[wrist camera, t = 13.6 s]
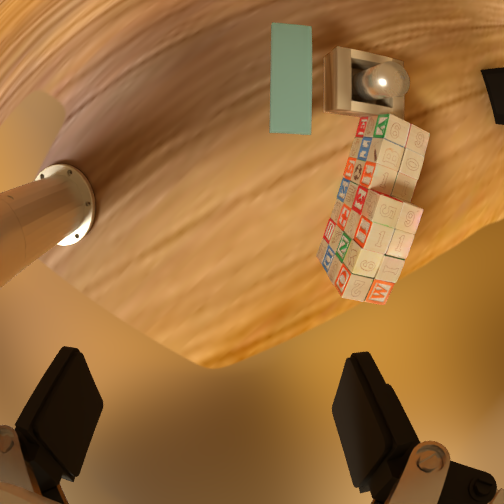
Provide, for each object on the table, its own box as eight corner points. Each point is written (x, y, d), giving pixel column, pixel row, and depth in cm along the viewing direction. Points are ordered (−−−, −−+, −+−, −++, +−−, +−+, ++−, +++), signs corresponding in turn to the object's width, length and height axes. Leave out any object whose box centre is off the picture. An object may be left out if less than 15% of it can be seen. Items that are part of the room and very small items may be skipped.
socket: (323, 112, 36) (337, 108, 30) (323, 57, 33) (337, 46, 27) (382, 120, 36) (404, 119, 30) (383, 68, 33) (403, 61, 27)
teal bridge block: (262, 134, 36) (270, 132, 27) (263, 49, 32) (272, 22, 23) (292, 135, 37) (310, 134, 27) (294, 51, 32) (311, 26, 23)
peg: (344, 72, 32) (377, 57, 23) (371, 76, 33) (409, 65, 23) (344, 100, 34) (378, 93, 25) (371, 104, 34) (410, 99, 25)
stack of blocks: (358, 115, 36) (403, 110, 24) (395, 131, 37) (447, 134, 25) (315, 256, 43) (341, 299, 32) (352, 265, 44) (385, 307, 33)
